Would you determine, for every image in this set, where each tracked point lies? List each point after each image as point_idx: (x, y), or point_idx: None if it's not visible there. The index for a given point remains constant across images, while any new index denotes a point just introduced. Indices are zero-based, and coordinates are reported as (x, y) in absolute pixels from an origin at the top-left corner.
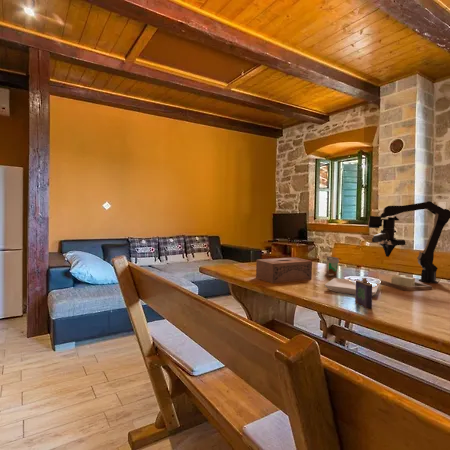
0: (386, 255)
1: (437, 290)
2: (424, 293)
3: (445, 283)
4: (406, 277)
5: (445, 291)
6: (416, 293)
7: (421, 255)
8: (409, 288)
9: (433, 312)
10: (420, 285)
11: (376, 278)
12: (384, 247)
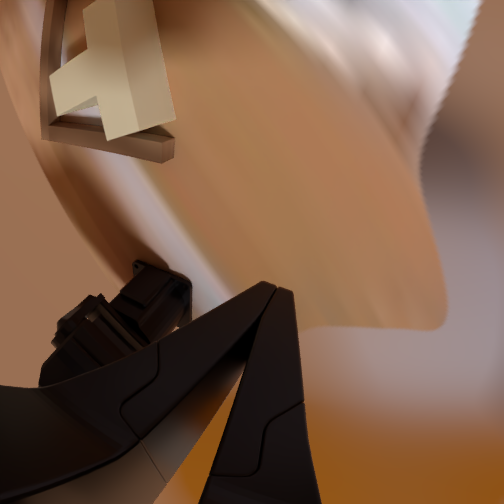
0: (273, 296)
1: None
2: (28, 41)
3: None
4: (76, 83)
5: (35, 155)
6: (34, 9)
7: (48, 364)
8: (49, 9)
9: None
10: (75, 125)
11: (366, 72)
12: (237, 485)
